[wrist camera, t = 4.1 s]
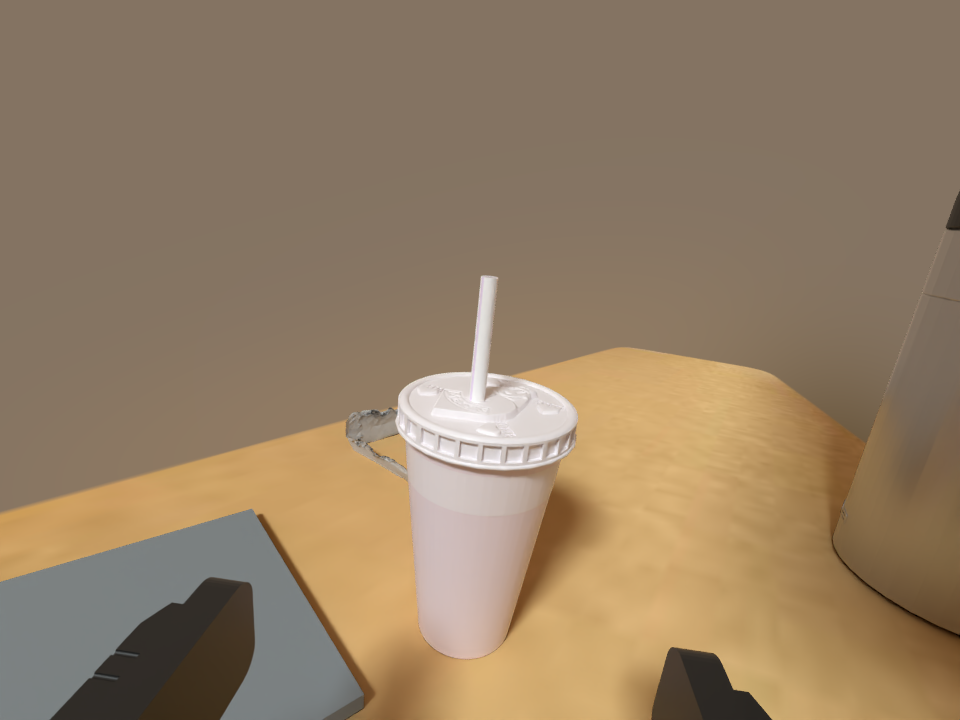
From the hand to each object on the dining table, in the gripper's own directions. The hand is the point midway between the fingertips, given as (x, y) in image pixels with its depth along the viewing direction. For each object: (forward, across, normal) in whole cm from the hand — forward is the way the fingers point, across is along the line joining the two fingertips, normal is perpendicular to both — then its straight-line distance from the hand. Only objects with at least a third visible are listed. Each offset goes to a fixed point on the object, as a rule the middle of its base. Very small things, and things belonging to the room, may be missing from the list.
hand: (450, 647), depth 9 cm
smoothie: (+9, 0, +8) cm, 12 cm away
